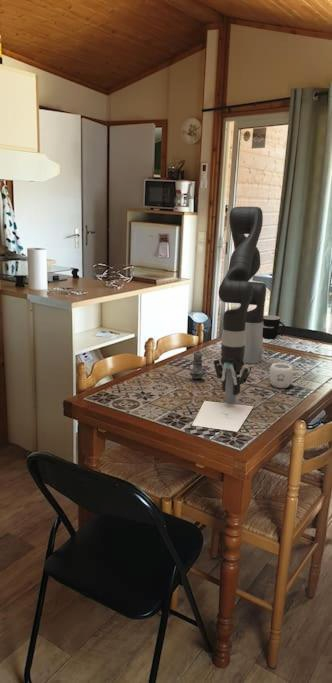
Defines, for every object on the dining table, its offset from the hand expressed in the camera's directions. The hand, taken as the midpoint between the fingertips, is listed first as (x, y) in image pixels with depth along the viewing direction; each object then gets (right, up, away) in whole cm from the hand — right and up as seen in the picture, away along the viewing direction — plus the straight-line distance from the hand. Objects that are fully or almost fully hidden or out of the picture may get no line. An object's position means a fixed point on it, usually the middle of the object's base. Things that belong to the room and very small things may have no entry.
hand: (230, 392), depth 177 cm
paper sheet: (-9, -7, -4) cm, 12 cm away
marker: (0, -3, +1) cm, 3 cm away
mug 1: (+31, +18, +86) cm, 94 cm away
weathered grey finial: (-10, +2, +25) cm, 27 cm away
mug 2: (+22, 0, +21) cm, 30 cm away
